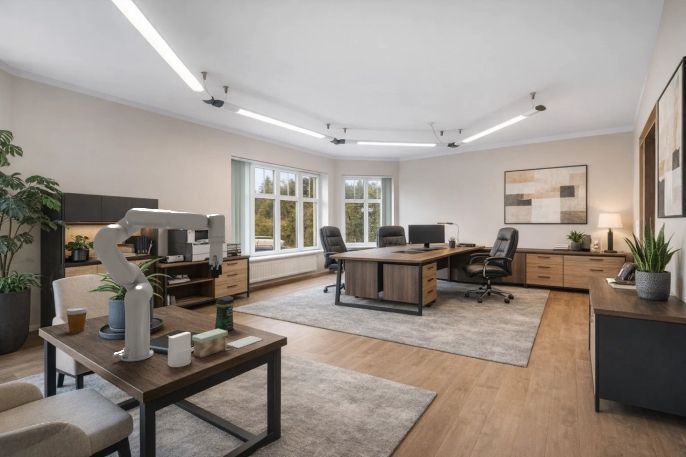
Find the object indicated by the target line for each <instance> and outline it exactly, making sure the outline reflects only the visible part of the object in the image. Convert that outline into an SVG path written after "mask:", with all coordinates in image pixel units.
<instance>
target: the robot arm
mask: <svg viewBox="0 0 686 457" xmlns="http://www.w3.org/2000/svg"><path fill="white" fill-rule="evenodd" d="M142 229H159V230H187V231H202V230H208V231H207V232H208V234H207V235H208V236H207V237H208V238H207V239H208V240H207V241H208V244H209V254H208V255H209V258H208V259H209V260H208V265H210V266H211V268H210V270H211V272H210V275H211V279H219V278H220V276H222V275H223V264H222V263H223V260H224V244H226V217H225V215H224V214H220V213H218V214H215V213H212V214H203V213H198V212H197V213H196V212H195V213H193V212H179V211H172V210H167V209H166V210H165V209H151V208H139V207H138V208H137V207H135V208H131V209H129V210H127V212H126V213H125V216H124V217H123V218H121V219H119V220H118V221H117V222H115V223H114V224H107V225H104V226H103V227H101V228H100V229H99V230H98V231H97V233H96V234H95V235H94V238H93V241H92V242H93V243H92V244H93V245H92V246H93V250H94V253H95V255H96V257H97V258H98V260H99V261H100V262H101V264H102V265H103V267H104V269H105V270H106V271H107V273H108V274H109V277H110V278H111V279H112V281H113V282H114V283H115V285H117V286H119V287H124V289H125V290H126V292H125V295H124V299H123V300H124V312H125V313H124V314H125V315H124V316H125V317H124V326H125V327H124V328H125V329H124V331H125V332H124V347H122V350H120V351H118V352H114V353H112V358H113V359H114V358H115V359H116V358H119V359H120V360H121V361H123V362H138V361H144V360H147V359H149V358H151V357H152V356H154V354H155V352H154V350H153V349H151V348H150V346H151V339H150V338H151V309H150V302H151V301H150V300H151V298H152V297H153V293H154V289H153V285H151V283H150V281H149V280H148V278H147V277H146V275H145V274H144V272H143V271H142V270H141V268H140V267H139V266H138V265H137V264H135V263H133V262H129V261H128V260H127V258H126V256H125V254H124V253H123V251H121V249H120V248H119V246H118V244H121V243H123V242H125V241H126V240H128V239H130V238H131V236H134V234H136V233H137V232H139V231H140V230H142ZM150 349H151V350H150Z"/></svg>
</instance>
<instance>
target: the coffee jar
mask: <svg viewBox="0 0 686 457" xmlns="http://www.w3.org/2000/svg"><path fill="white" fill-rule="evenodd" d="M215 300H216V301H215V306H216V307H215V308H216V317H215V325H214V330H215V329H222V330H225V331H228V332H229V331H231V330H233V329H234V312H233V311H234V304H235V298H234V296H230V295H226V296H221V297H217V298H216V299H215Z"/></svg>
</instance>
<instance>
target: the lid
mask: <svg viewBox="0 0 686 457" xmlns="http://www.w3.org/2000/svg"><path fill="white" fill-rule="evenodd" d="M228 332H229V330H228V331H225V330H222V329H215V328H214V329H211V330H208V331H204V332H201V333H197V334H193V335H191V341H193V342H194V341H197V342H200V343H203V342H206V341H210V340H213V339H216V338H219V337H223V336H225V337H226V336H228Z"/></svg>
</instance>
